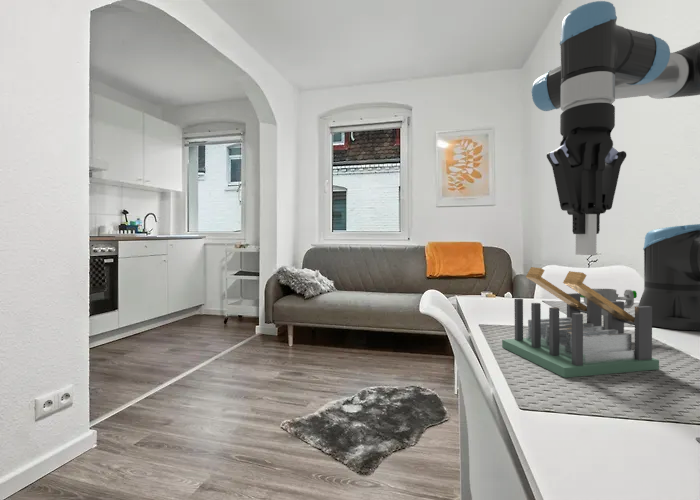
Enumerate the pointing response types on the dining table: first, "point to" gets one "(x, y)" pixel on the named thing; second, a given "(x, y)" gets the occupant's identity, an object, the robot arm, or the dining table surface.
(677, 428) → the dining table surface
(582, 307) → the strap
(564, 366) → the socket board
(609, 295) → the mechanical component
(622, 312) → the strap
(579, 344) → the set of grey pegs
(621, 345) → the heatsink
